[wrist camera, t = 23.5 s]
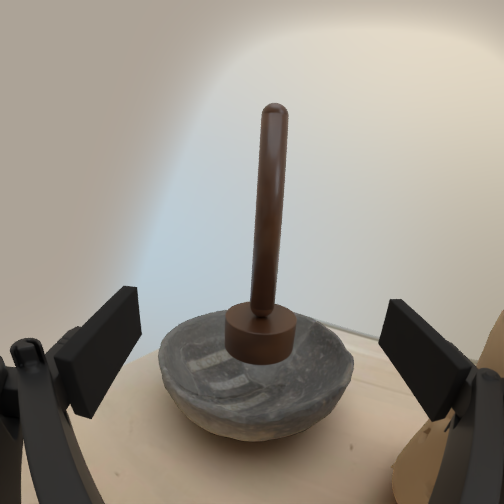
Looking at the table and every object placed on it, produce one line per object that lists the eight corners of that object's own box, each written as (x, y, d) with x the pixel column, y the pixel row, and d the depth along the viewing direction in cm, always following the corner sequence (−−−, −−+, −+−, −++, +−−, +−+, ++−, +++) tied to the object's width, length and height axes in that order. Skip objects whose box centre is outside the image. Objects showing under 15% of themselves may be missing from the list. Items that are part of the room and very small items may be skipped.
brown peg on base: (213, 356, 23) (223, 93, 18) (237, 324, 28) (249, 112, 23) (285, 371, 21) (312, 93, 16) (297, 335, 27) (318, 114, 22)
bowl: (258, 343, 39) (262, 290, 37) (366, 404, 27) (387, 345, 25) (138, 387, 27) (127, 326, 25) (240, 506, 15) (245, 456, 13)
